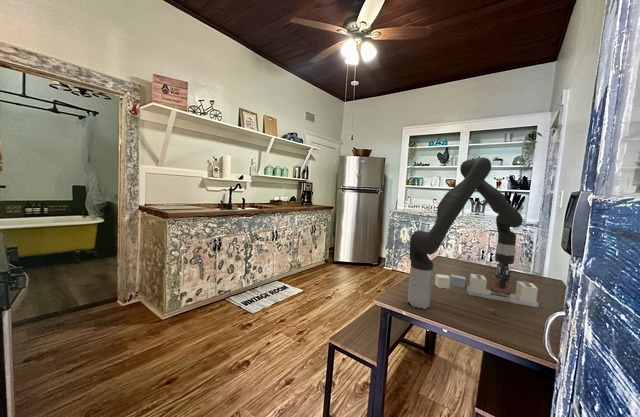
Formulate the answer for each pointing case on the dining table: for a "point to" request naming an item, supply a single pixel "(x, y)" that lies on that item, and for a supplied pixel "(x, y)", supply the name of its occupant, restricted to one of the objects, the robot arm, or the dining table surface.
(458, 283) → the block
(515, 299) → the rail
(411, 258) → the robot arm
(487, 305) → the dining table surface
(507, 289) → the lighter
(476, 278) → the mounted modules
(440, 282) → the block
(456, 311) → the dining table surface
